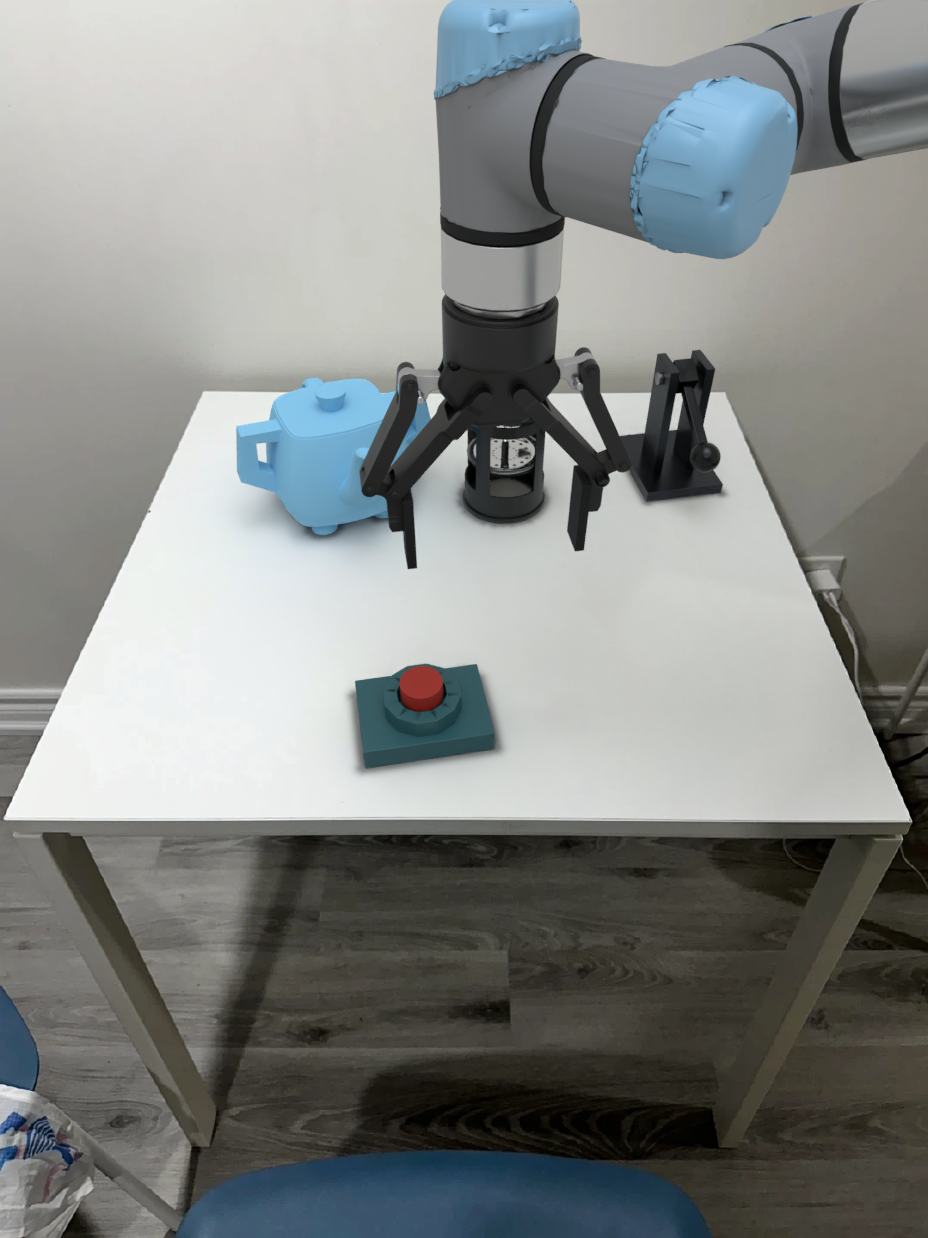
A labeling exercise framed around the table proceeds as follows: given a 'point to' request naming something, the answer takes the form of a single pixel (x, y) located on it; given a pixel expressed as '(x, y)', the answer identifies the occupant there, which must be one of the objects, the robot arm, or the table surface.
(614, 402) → the table surface
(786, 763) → the table surface
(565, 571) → the table surface
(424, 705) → the stop button
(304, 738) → the table surface
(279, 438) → the teapot
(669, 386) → the ball knob lever stand
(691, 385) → the switch lever
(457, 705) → the button box
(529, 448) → the french press
